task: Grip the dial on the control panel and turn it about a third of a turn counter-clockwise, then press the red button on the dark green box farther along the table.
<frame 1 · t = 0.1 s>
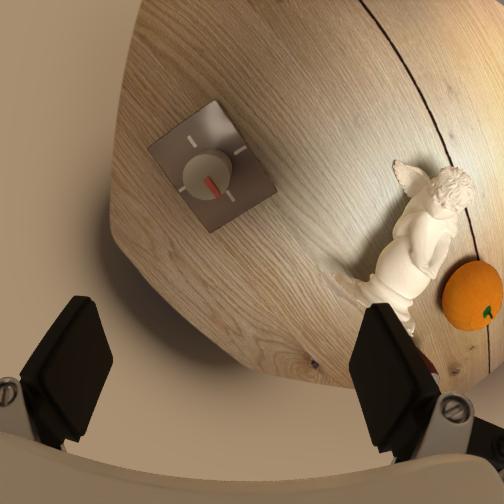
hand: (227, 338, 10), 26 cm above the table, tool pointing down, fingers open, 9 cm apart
angel figurine: (395, 219, 36), on the table
fruit: (460, 283, 41), on the table
dial: (208, 173, 28), point 5 cm above the table, hinge at 0.0°
dial panel: (214, 164, 33), on the table
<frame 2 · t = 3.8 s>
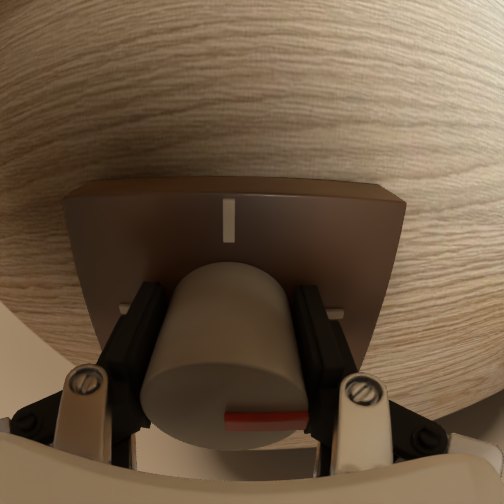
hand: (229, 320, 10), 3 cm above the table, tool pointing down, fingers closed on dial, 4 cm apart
dial: (226, 361, 9), point 5 cm above the table, hinge at 0.1°, touching gripper
dial panel: (232, 278, 13), on the table
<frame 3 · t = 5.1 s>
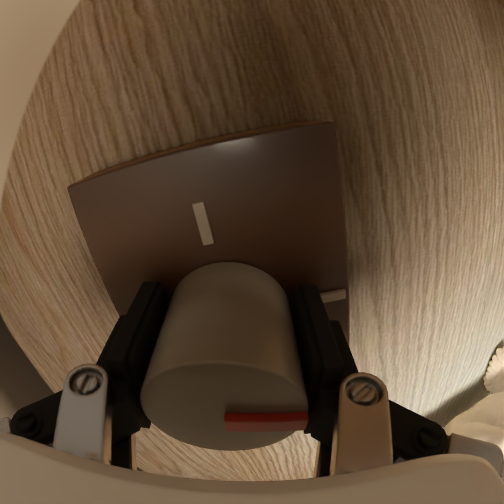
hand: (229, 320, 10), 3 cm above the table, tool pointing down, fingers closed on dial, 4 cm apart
angel figurine: (451, 404, 20), on the table
dial: (226, 361, 9), point 5 cm above the table, hinge at 76.9°, touching gripper
dial panel: (232, 278, 13), on the table
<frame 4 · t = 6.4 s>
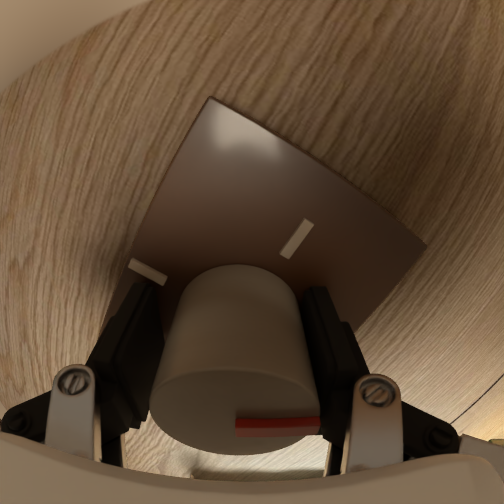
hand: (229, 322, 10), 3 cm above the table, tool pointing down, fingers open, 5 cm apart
dial: (236, 365, 9), point 5 cm above the table, hinge at 119.9°, touching gripper
dial panel: (240, 280, 13), on the table
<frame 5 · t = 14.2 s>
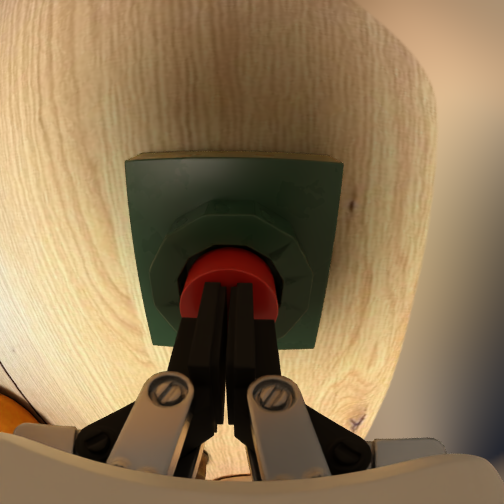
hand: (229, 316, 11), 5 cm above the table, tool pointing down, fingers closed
fruit: (18, 410, 25), on the table
button: (229, 298, 11), point 4 cm above the table, slide at 0.0 cm, touching gripper
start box: (233, 248, 15), on the table
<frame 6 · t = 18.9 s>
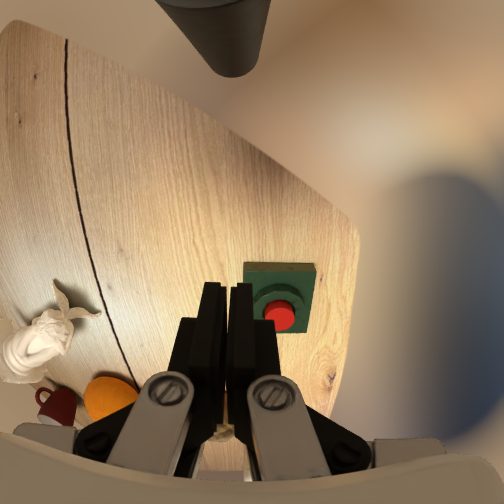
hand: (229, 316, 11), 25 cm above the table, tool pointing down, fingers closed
angel figurine: (54, 313, 42), on the table
fruit: (118, 388, 50), on the table
button: (279, 315, 36), point 4 cm above the table, slide at 0.1 cm
seashell: (223, 404, 52), on the table
mug: (63, 389, 52), on the table
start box: (276, 295, 40), on the table
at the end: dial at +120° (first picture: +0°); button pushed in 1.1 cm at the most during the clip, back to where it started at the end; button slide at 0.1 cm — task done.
